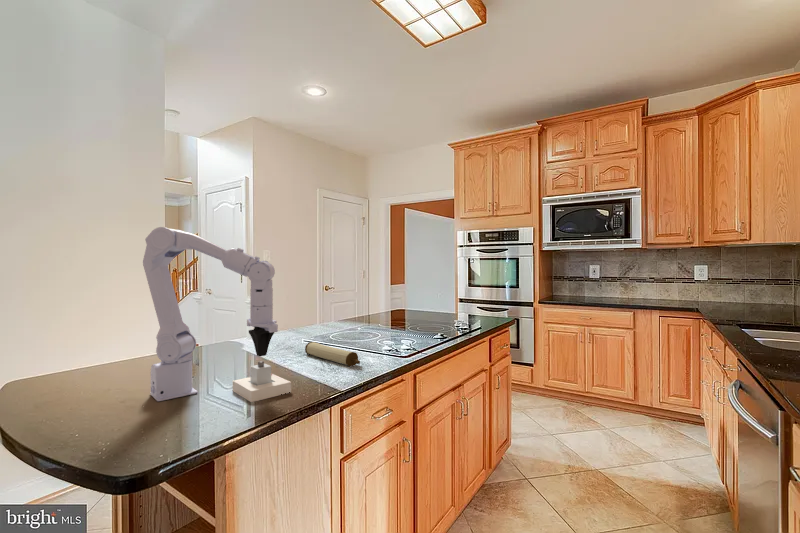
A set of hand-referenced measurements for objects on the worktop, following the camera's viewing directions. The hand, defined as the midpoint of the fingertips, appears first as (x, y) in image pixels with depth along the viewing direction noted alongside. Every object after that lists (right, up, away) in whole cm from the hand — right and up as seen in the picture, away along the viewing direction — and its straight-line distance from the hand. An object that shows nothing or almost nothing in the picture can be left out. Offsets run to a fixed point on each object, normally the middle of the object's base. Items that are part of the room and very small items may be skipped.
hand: (261, 355), depth 107 cm
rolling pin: (+13, -10, +35) cm, 38 cm away
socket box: (0, -10, 0) cm, 10 cm away
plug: (0, -10, 0) cm, 10 cm away
